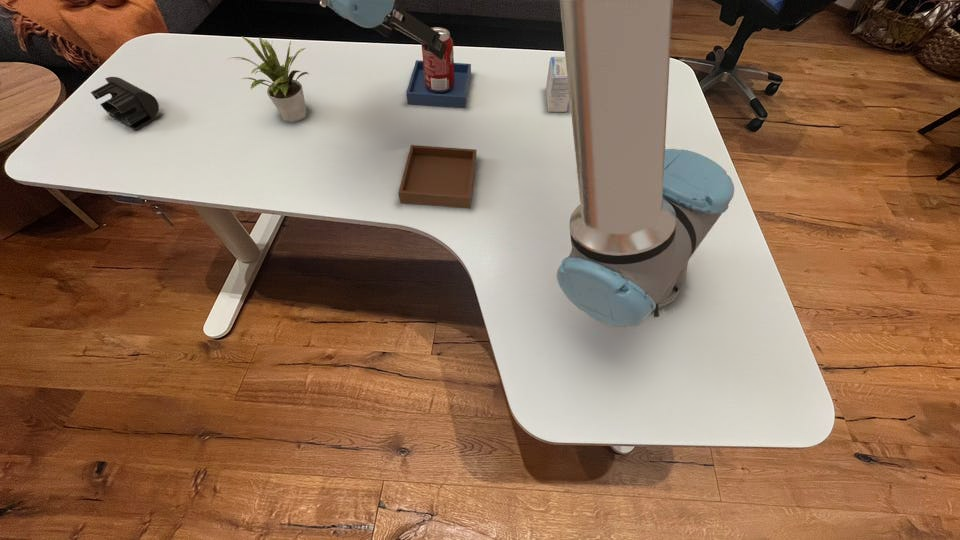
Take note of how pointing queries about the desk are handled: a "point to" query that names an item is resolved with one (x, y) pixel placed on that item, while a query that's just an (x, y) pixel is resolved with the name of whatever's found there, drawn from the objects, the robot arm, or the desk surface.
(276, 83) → the house plant
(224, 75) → the desk surface
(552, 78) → the medicine box
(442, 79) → the soda can
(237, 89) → the desk surface
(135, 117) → the end cap
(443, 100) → the blue tray
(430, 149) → the walnut tray
